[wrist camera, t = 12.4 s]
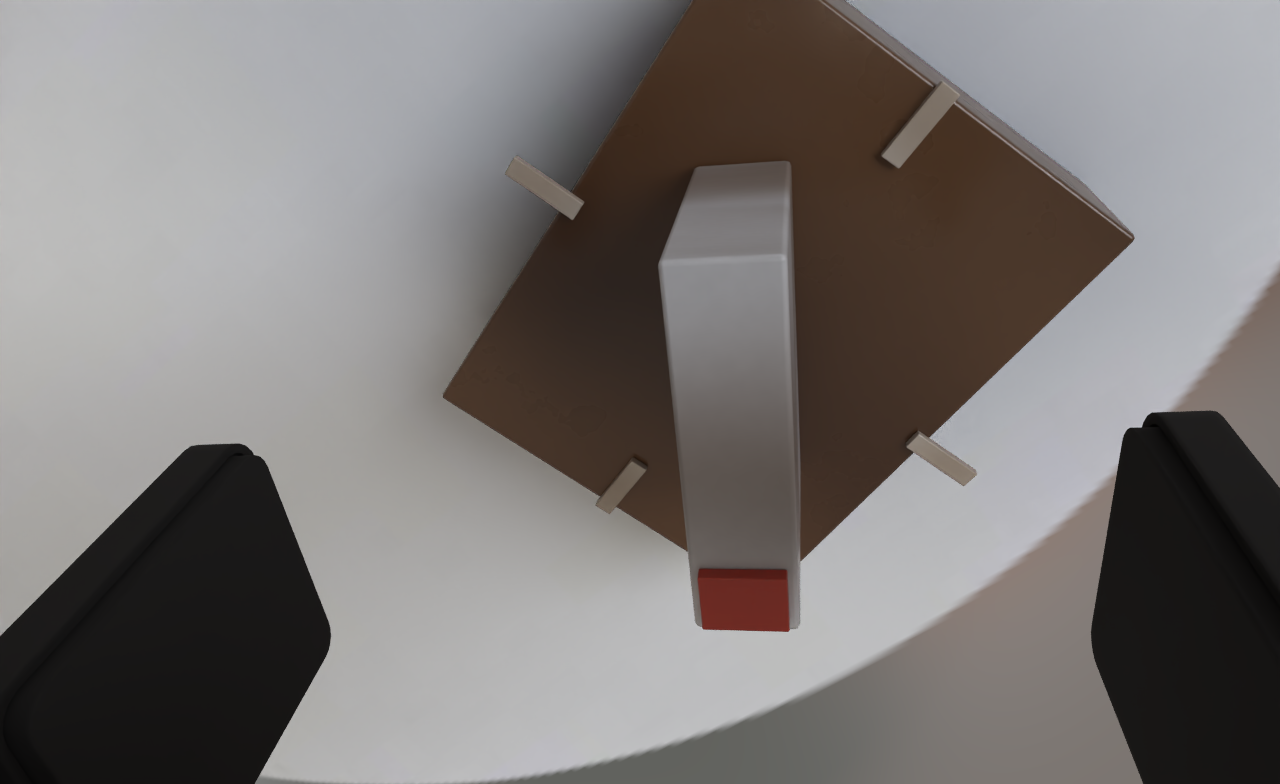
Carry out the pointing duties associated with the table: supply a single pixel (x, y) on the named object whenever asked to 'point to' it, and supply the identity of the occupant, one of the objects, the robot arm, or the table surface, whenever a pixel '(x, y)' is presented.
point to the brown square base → (823, 259)
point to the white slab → (736, 393)
